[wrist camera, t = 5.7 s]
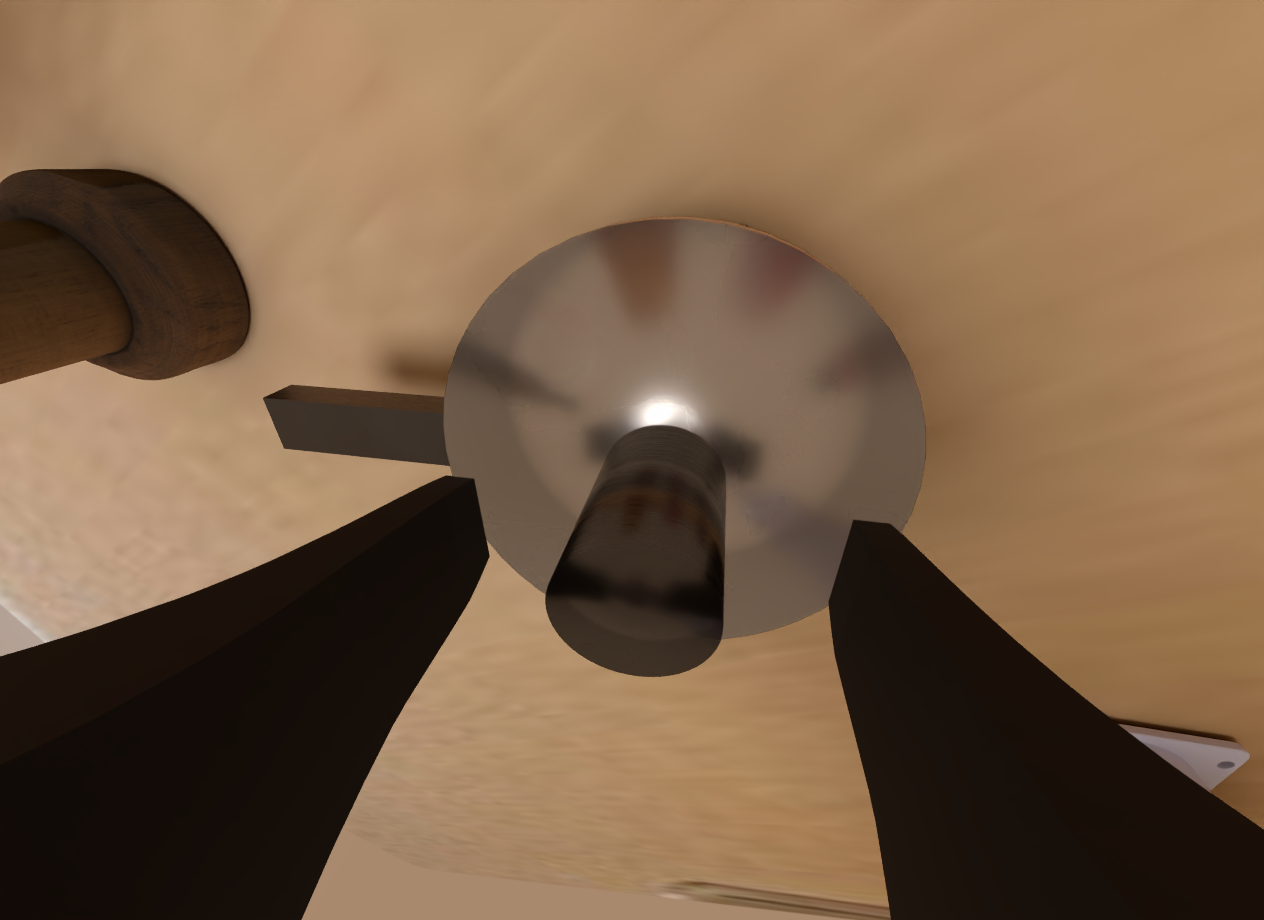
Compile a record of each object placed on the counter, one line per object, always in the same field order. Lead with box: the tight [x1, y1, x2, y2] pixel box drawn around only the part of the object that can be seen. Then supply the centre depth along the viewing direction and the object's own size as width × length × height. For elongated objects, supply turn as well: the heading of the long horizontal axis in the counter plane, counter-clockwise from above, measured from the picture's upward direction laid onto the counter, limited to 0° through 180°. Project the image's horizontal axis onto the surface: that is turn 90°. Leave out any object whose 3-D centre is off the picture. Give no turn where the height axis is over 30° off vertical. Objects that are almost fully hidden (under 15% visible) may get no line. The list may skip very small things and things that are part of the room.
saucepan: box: [263, 224, 750, 466], centre depth 14 cm, size 10×16×5 cm, turn 90°
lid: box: [443, 216, 926, 677], centre depth 10 cm, size 11×11×6 cm
